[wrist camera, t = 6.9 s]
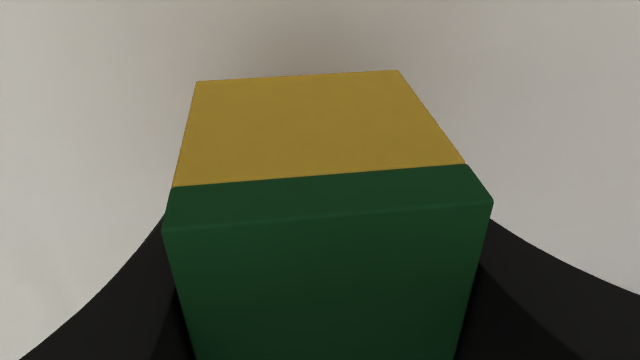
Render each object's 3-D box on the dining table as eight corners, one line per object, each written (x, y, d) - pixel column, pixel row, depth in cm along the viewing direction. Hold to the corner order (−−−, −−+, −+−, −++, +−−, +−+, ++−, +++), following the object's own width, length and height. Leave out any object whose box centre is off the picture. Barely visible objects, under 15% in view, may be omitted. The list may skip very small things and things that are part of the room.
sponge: (195, 80, 10) (158, 230, 6) (398, 68, 10) (496, 200, 6) (231, 288, 14) (223, 469, 10) (379, 273, 14) (433, 440, 10)
